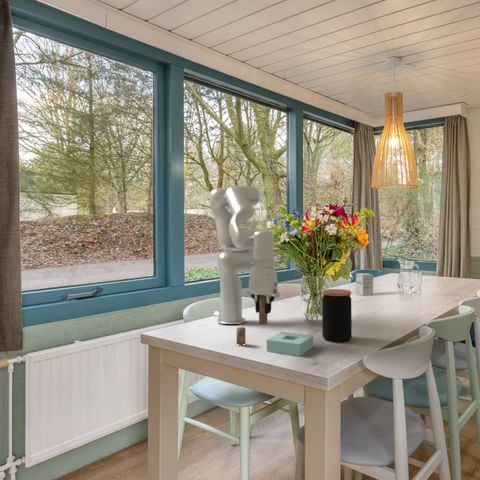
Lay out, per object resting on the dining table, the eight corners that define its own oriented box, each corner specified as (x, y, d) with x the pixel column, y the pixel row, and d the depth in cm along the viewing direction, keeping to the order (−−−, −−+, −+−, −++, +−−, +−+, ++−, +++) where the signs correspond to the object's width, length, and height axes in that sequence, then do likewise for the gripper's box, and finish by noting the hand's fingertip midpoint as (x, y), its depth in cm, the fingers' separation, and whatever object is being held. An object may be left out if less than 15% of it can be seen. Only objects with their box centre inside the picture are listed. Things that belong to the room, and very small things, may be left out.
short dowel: (235, 345, 157) (234, 328, 157) (239, 343, 160) (239, 326, 159) (242, 346, 155) (242, 329, 155) (247, 344, 158) (246, 327, 158)
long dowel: (257, 323, 163) (257, 292, 162) (261, 321, 166) (261, 290, 165) (265, 325, 161) (265, 292, 160) (268, 323, 164) (269, 291, 163)
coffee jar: (347, 335, 168) (346, 288, 168) (355, 342, 158) (355, 293, 157) (319, 335, 168) (319, 289, 167) (326, 343, 157) (325, 293, 157)
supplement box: (355, 294, 263) (355, 273, 263) (366, 293, 266) (366, 272, 265) (362, 296, 256) (362, 274, 256) (373, 295, 259) (373, 274, 258)
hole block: (266, 351, 149) (266, 339, 149) (281, 342, 159) (281, 331, 159) (299, 356, 143) (299, 344, 143) (313, 347, 153) (312, 335, 153)
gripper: (239, 263, 163) (239, 311, 164) (279, 266, 154) (278, 317, 156) (249, 261, 169) (249, 307, 171) (288, 264, 161) (287, 313, 162)
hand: (263, 312), depth 163 cm, fingers closed on long dowel, 3 cm apart
